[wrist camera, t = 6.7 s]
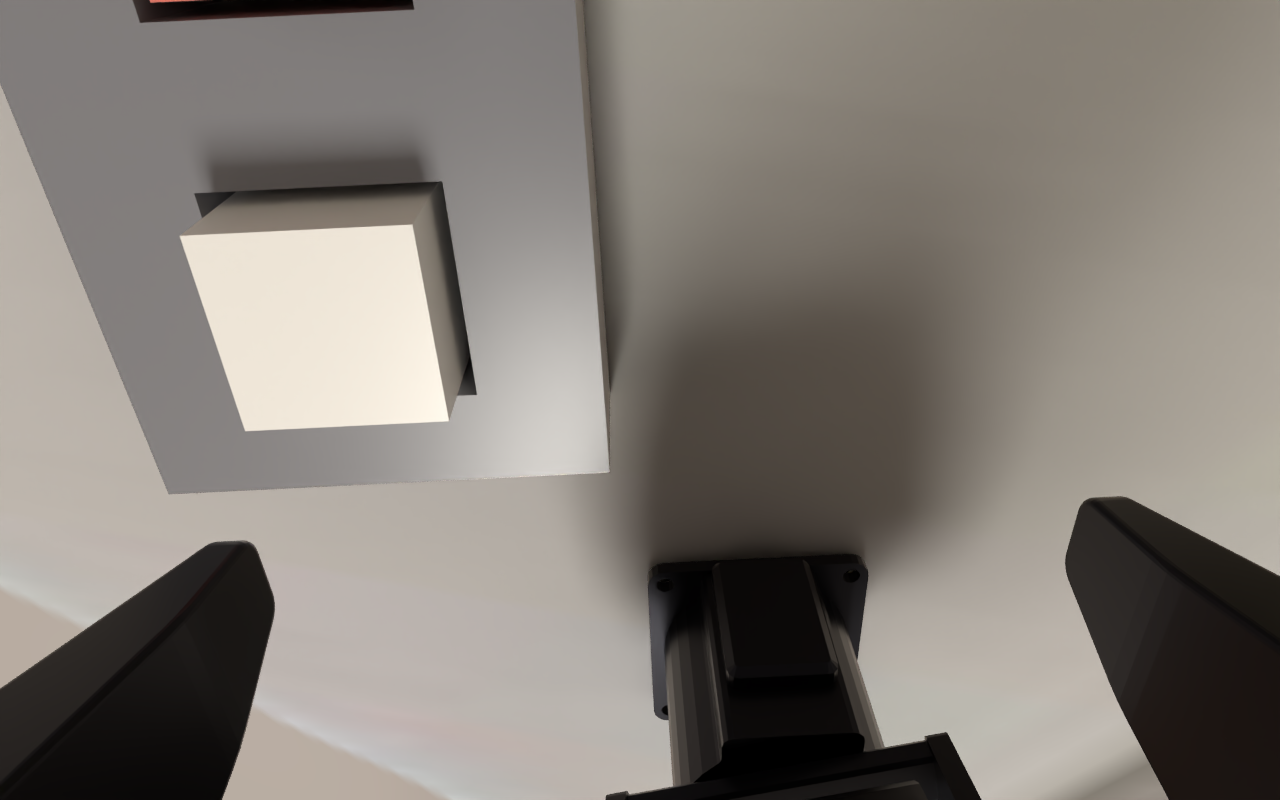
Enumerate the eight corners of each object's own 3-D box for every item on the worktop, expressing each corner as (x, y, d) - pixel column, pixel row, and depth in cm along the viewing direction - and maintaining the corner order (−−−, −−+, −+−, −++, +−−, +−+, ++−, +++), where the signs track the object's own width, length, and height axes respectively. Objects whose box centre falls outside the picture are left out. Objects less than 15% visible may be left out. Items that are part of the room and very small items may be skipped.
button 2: (471, 350, 19) (449, 420, 16) (295, 359, 19) (245, 431, 16) (442, 175, 17) (412, 224, 14) (245, 184, 17) (179, 235, 14)
